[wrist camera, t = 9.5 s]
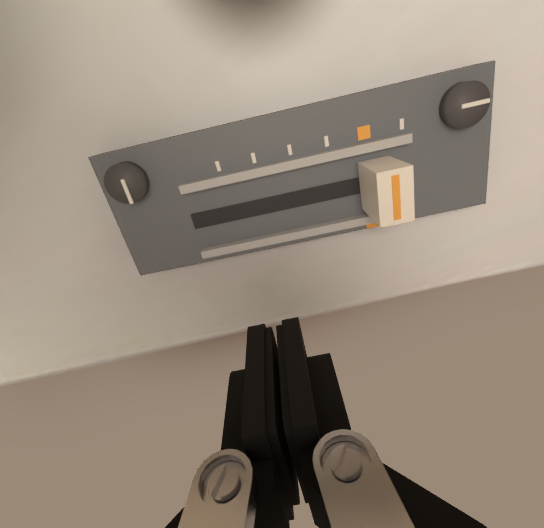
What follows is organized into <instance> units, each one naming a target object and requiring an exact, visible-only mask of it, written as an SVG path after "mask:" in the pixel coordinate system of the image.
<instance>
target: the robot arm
mask: <svg viewBox="0 0 544 528" xmlns="http://www.w3.org/2000/svg"><path fill="white" fill-rule="evenodd" d="M276 330H277V344H276V341H275V337H274V333H273V330H272V327H268V328H266V326H265V324H261V325H256V326H250V327H248V330H247V347H246V363H245V369H243V370H239V371H233V372H231V373H230V377H229V386H228V394H227V403H226V411H225V420H224V428H223V437H222V445H221V450H220V451H218V452H216V453H214V454H212V455H211V456H209V457H208V458H207V459H206V460H205V461H204V462H203V463H202V464H201V466H200V467H199V468H198V470H197V472H196V474H195V476H194V478H193V481H192V485H191V488H190V491H189V494H188V497H187V501H186V504H185V507H184V508H183V509H182V510H181V511H180V512H179V513H178V514H177V515H176V516H175V517H174V518H173V519H172V521H171V522H170V523H169V524H168V525H167V526H166V527H165V528H289V520H294V512H293V505H299V504H300V498H299V488H298V480H299V483H300V486H301V490H302V493H303V496H304V500H305V503H309V506H310V509H311V512H312V516H313V519H314V523H315V525H317V526H318V527H319V528H487V527H486V526H484V525H483V524H482V523H480V522H478V521H477V520H475V519H473V518H472V517H470V516H469V515H467V514H465V513H464V512H462V511H460V510H459V509H457V508H455V507H454V506H452V505H451V504H449V503H447V502H446V501H444V500H442V499H441V498H439V497H437V496H436V495H434V494H433V493H431V492H429V491H428V490H426V489H424V488H423V487H421V486H419V485H418V484H416V483H414V482H413V481H411V480H410V479H408V478H406V477H405V476H403V475H401V474H400V473H398V472H396V471H395V470H393V469H392V468H390V467H388V466H387V465H385V464H383V463H382V462H381V460H380V458H379V456H378V454H377V452H376V450H375V448H374V447H373V445H372V444H371V442H370V441H369V440H368V439H367V438H366V437H364V436H363V435H362V434H360V433H358V432H355V431H353V430H351V427H350V423H349V420H348V416H347V413H346V409H345V405H344V402H343V398H342V395H341V391H340V388H339V384H338V380H337V377H336V373H335V370H334V366H333V362H332V359H331V355H330V353H328V354H323V355H317V356H312V357H307V355H306V350H305V346H304V341H303V337H302V332H301V328H300V323H299V319H298V317H296V318H291V319H286V320H282V325H278V326H276ZM277 345H278V348H277Z"/></svg>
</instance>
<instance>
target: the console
mask: <svg viewBox="0 0 544 528" xmlns="http://www.w3.org/2000/svg"><path fill="white" fill-rule="evenodd" d="M494 72H495V61H490V62H485V63H480V64H475V65H471V66H466V67H462V68H458V69H454V70H450V71H446V72H441V73H437V74H433V75H429V76H425V77H420V78H416V79H412V80H408V81H404V82H399V83H395V84H391V85H387V86H383V87H378V88H374V89H370V90H366V91H362V92H358V93H353V94H349V95H345V96H341V97H337V98H332V99H328V100H324V101H320V102H316V103H311V104H307V105H303V106H299V107H295V108H291V109H286V110H282V111H278V112H274V113H270V114H265V115H261V116H257V117H253V118H249V119H244V120H240V121H236V122H232V123H228V124H223V125H219V126H215V127H211V128H207V129H203V130H198V131H194V132H190V133H186V134H182V135H177V136H173V137H169V138H165V139H161V140H156V141H152V142H148V143H144V144H140V145H135V146H131V147H127V148H123V149H119V150H115V151H110V152H106V153H102V154H99V155H95V156H92V157H88V158H89V160H90V162H91V165H92V167H93V169H94V171H95V174H96V176H97V178H98V180H99V183H100V185H101V187H102V190H103V192H104V194H105V196H106V199H107V201H108V203H109V205H110V208H111V210H112V212H113V214H114V217H115V219H116V221H117V223H118V226H119V228H120V230H121V233H122V235H123V237H124V239H125V242H126V244H127V246H128V248H129V251H130V253H131V255H132V257H133V260H134V262H135V264H136V267H137V269H138V271H139V273H140V275H145V274H150V273H154V272H159V271H164V270H169V269H174V268H178V267H183V266H188V265H193V264H198V263H202V262H207V261H212V260H217V259H222V258H226V257H231V256H236V255H241V254H245V253H250V252H255V251H260V250H265V249H269V248H274V247H279V246H284V245H289V244H293V243H298V242H303V241H308V240H313V239H317V238H322V237H327V236H332V235H337V234H341V233H346V232H351V231H356V230H360V229H365V228H372V227H377V226H378V225H377V224H376V223H375V222H374V221H373V220H372V219H371V218H370V217H369V215H368V214H367V213H366V212H365V211H364V210H363V209H362V203H361V193H360V183H359V173H358V163H357V162H360V161H365V160H369V159H374V158H378V157H383V156H387V155H388V156H391V157H394V158H396V159H399V160H401V161H404V162H406V163H409V164H412V165H413V172H414V207H415V218H418V217H423V216H428V215H432V214H437V213H442V212H447V211H451V210H456V209H461V208H466V207H471V206H475V205H480V204H485V203H486V190H487V175H488V160H489V146H490V131H491V116H492V101H493V86H494Z"/></svg>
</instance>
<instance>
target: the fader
mask: <svg viewBox="0 0 544 528" xmlns="http://www.w3.org/2000/svg"><path fill="white" fill-rule="evenodd" d="M357 163H358V173H359V183H360V193H361V203H362V209H363V210H364V211H365V212H366V213H367V214H368V215H369V217H370V218H371V219H372V220H373V221H374V222H375V223H376V224H377V225H378V226H379V227H380V228H382V227H387V226H392V225H397V224H401V223H406V222H411V221H415V207H414V172H413V165H412V164H409V163H406V162H404V161H401V160H399V159H396V158H394V157H391V156H388V155H387V156H383V157H378V158H374V159H369V160H365V161H360V162H357Z"/></svg>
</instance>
